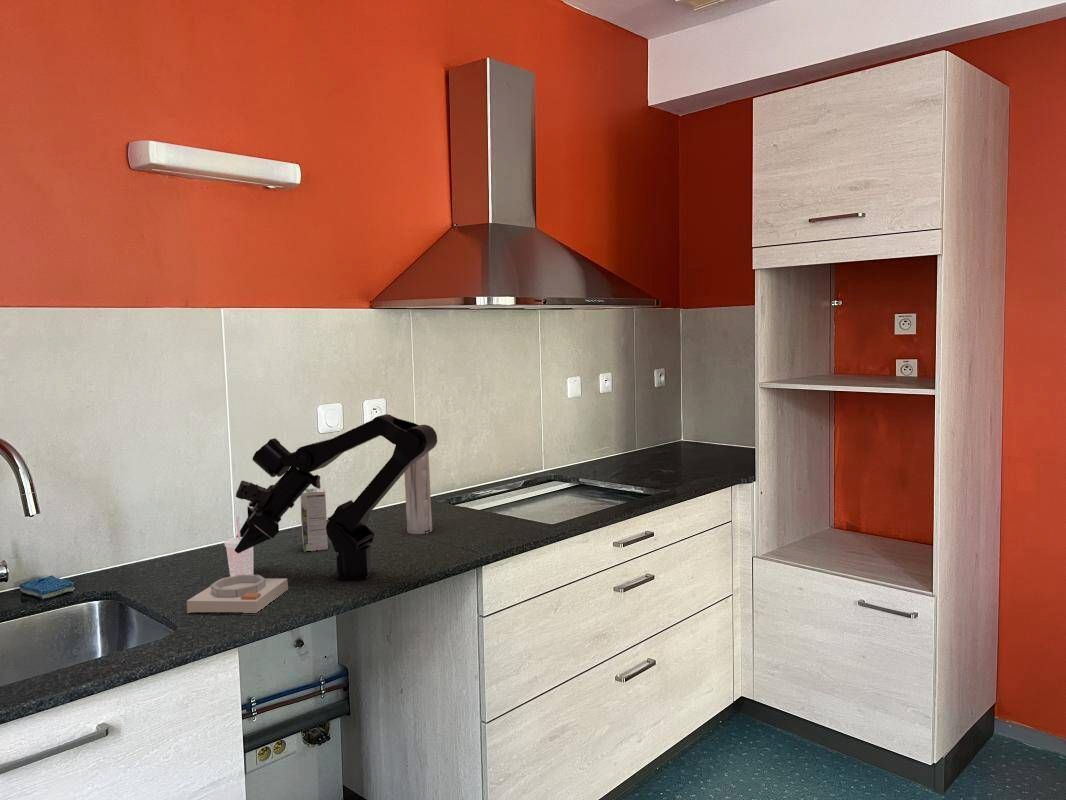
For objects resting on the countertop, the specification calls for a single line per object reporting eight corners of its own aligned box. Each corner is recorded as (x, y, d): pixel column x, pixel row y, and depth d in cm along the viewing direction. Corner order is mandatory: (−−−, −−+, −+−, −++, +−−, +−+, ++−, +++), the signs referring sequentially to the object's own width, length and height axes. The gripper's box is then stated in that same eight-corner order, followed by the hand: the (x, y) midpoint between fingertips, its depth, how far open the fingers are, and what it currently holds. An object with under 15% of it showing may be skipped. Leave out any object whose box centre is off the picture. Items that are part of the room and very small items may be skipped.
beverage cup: (231, 587, 172) (227, 522, 170) (223, 580, 177) (219, 517, 175) (261, 581, 175) (256, 517, 174) (252, 575, 180) (247, 512, 179)
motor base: (288, 590, 168) (286, 571, 168) (257, 614, 154) (255, 593, 154) (224, 590, 170) (222, 571, 170) (187, 613, 156) (186, 593, 156)
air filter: (408, 535, 210) (404, 439, 208) (405, 529, 216) (401, 436, 214) (434, 533, 212) (429, 437, 209) (430, 527, 218) (425, 434, 216)
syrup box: (302, 547, 202) (298, 489, 201) (326, 544, 204) (323, 486, 203) (304, 552, 197) (300, 493, 196) (329, 549, 199) (325, 490, 198)
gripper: (256, 461, 184) (207, 514, 181) (258, 474, 167) (203, 533, 164) (295, 492, 187) (247, 545, 185) (300, 508, 170) (247, 566, 167)
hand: (236, 546), depth 175 cm, fingers open, 9 cm apart
